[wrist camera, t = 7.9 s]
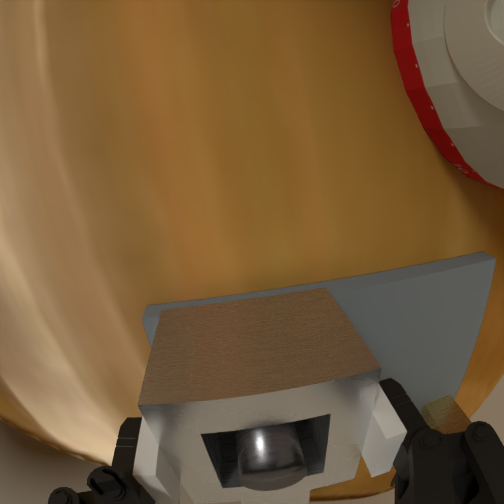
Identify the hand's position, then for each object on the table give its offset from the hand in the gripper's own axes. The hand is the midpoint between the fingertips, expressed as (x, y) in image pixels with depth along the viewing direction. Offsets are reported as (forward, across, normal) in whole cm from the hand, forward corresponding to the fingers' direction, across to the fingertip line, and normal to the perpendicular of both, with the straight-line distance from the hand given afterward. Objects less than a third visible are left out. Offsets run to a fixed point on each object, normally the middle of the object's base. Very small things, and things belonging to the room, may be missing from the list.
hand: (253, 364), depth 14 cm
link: (0, 0, -4) cm, 4 cm away
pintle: (0, 0, 0) cm, 0 cm away
